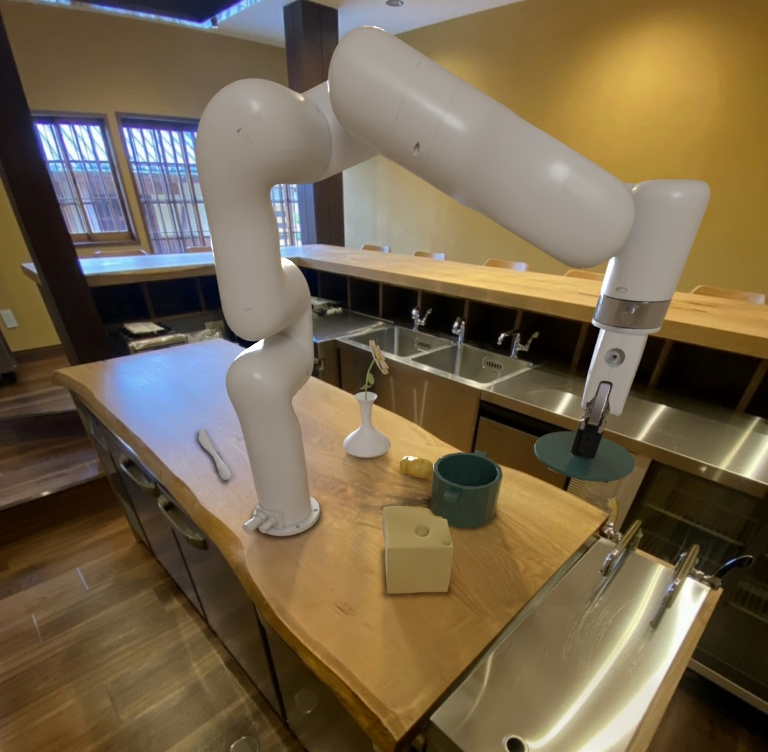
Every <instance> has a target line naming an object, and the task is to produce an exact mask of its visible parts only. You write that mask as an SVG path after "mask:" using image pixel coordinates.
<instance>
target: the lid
mask: <svg viewBox="0 0 768 752" xmlns="http://www.w3.org/2000/svg"><path fill="white" fill-rule="evenodd" d="M581 419H582V418H581ZM582 420H583V419H582ZM601 420H602V419H601ZM580 423H582V421H581V420H580ZM585 425H586V424H585ZM579 426H581V425H580V424H579ZM604 426H605V427H606V424H604ZM605 427H603V429H605ZM602 432H603V433H604V430H602ZM576 433H577V431H572V430H571V431H566V430H564V431H554V432H550V433H547V434H544V435H542V436H541V437H538V439H537V440H536V442H535V443H534V447H533V452H534V455H535V457H536V458H537V460H538V461H539V462H540V463H541V464H542V465H544V466H545V467H546V468H548V469H550V470H552V471H554V472H555V473H558V474H560V475H563V476H565V477H568V478H571V479H575V480H580V481H586V482H597V483H598V482H599V483H603V482H615V481H619V480H621V479H624V478H627V477H628V476H630V474H632V473H633V471H634V468H635V466H636V461H635V458H634V457H633V455H632V454H631V453H630V451H629V450H628V449H626V448H625V447H623V446H622V445H621V444H619V443H617V442H615V441H613V440H611V439H609V438H606V437H604V436H602V438H601V441H600V444H599V447H598V450H597V453H596V455H595V458H593V459H590V458H586V457H582V456H577V455H573V454H571V449H572V446H573V443H574V440H575V437H576Z"/></svg>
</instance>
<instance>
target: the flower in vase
mask: <svg viewBox="0 0 768 752" xmlns="http://www.w3.org/2000/svg"><path fill="white" fill-rule="evenodd" d="M368 344H369V348H370V352H371V355H372V357H373V359H372V362H371V363H370V365H369V368H368V370H367V374H366V379H365V384H364V385H362V387H359V389H360V390H364V391H360V392H357V393H356V394H355V395H354V399H355V400H356V401H357V403H358V405H359V408H360V414H361V416H360V417H361V424H360V426H359V427H358V428H357V429H355V430H353V431H352V432H351V433H349V434H348V435H347V436H346V437H345V438H344V441H343V443H342V447H343V449H344V451H345V452H346V453H347V454H348V455H349V456H352V457H355V458H359V459H374V458H378V457H381V456H383V455H385V454H386V453H388V452H389V450H390V449H391V446H392V443H391V440H390V438H389V437H388V436H387V435H386V434H385V433H383V432H382V431H380V430H379V429H377V428H376V427H374V426H373V423H372V410H373V406H374V402H376V400H377V398H378V395H377V393H375V392H372V391H368V389H369V388H371V387H372V385H374V384H375V377H374V375H373V374H372V373H370V372H371V369H372V367H373V365H374V363H375V364H376V365H377V367H378V369H379V371H381V373H382V374H383V375H388V374H389V366H388V364H387V362H386V361H385V360H386V357H385V355H384V354H383V353H382V351H381V348H380V346H379V345H378V344H376V342H375V340H374V339H370V340H369V342H368ZM368 383H369V384H370V385H368Z"/></svg>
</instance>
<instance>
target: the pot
mask: <svg viewBox="0 0 768 752" xmlns="http://www.w3.org/2000/svg"><path fill="white" fill-rule="evenodd" d="M488 453H489V452H486V451H481V450H475V451H474V452H462V451H461V452H460V451H459V452H452V453H447V454H444V455H442V456H441V457H438V459H437V460H436V461H435V462H434V463H433V466H434V467H433V475H432V479H431V480H432V481H431V490H430V491H431V492H430V505H429V506H430V507H429V508H430V510H431V512H432V513H433V514H434V515H435V516H440V517H442V518H443V519H447V522H448V526H449V527H450V526H451V527H454V528H459V529H474V528H479V527H483V526H484V525H487V524H488V523H490V522H491V521H492V519H493V518H494V516H495V513H496V509H497V505H498V500H499V495H500V492H501V491H500V490H501V485H502V481H503V476H504V474H503V470H502V467H501V466H500V465H499V464H498V463H497V462H496V461H495V460H494V459H491V458H489V457H488Z"/></svg>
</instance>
